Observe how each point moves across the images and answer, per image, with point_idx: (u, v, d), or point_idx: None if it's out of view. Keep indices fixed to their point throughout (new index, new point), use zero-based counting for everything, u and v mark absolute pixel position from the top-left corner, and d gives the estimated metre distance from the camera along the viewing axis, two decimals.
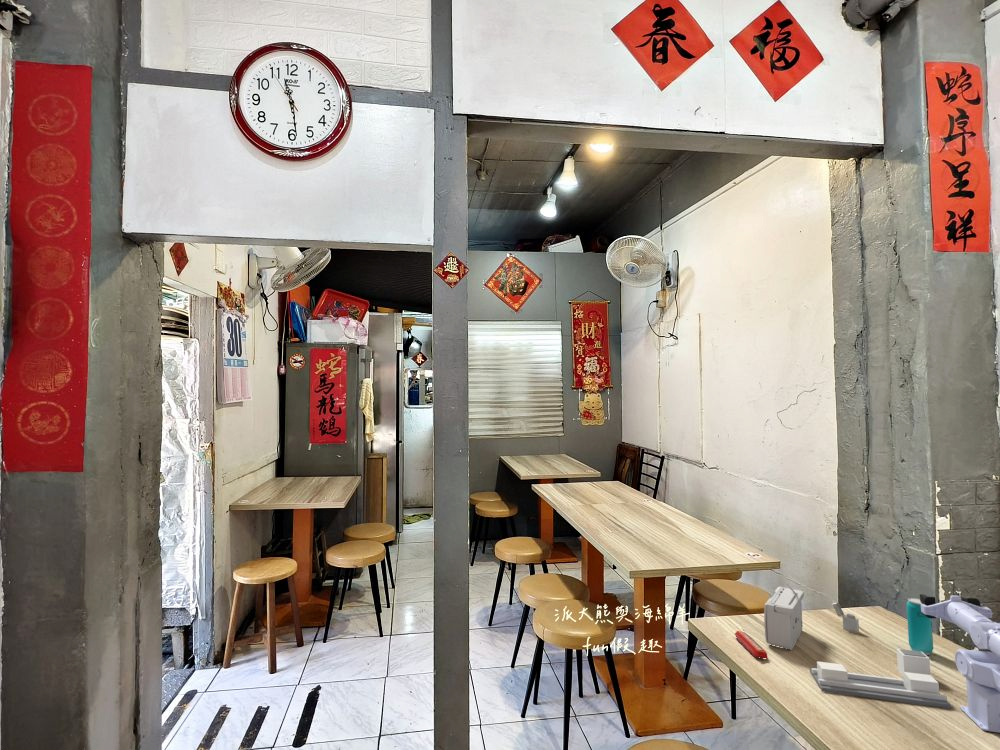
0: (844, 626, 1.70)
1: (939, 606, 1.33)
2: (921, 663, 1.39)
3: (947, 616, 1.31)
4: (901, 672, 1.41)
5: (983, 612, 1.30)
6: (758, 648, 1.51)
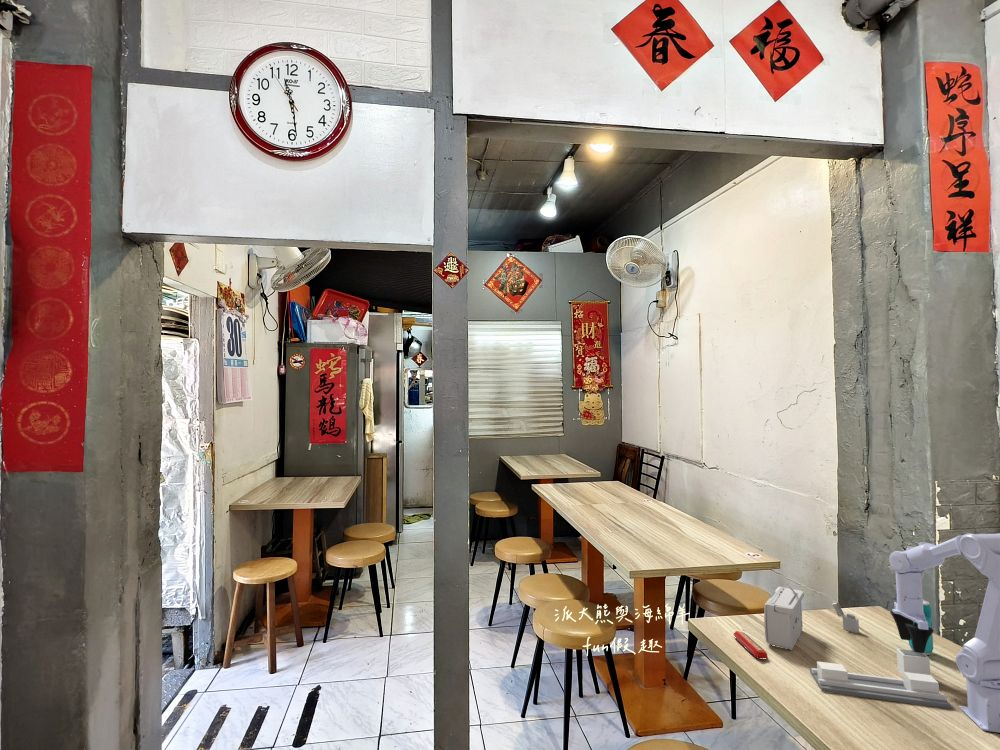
0: (844, 626, 1.70)
1: None
2: (921, 663, 1.39)
3: (918, 612, 1.39)
4: (901, 672, 1.41)
5: None
6: (758, 648, 1.51)
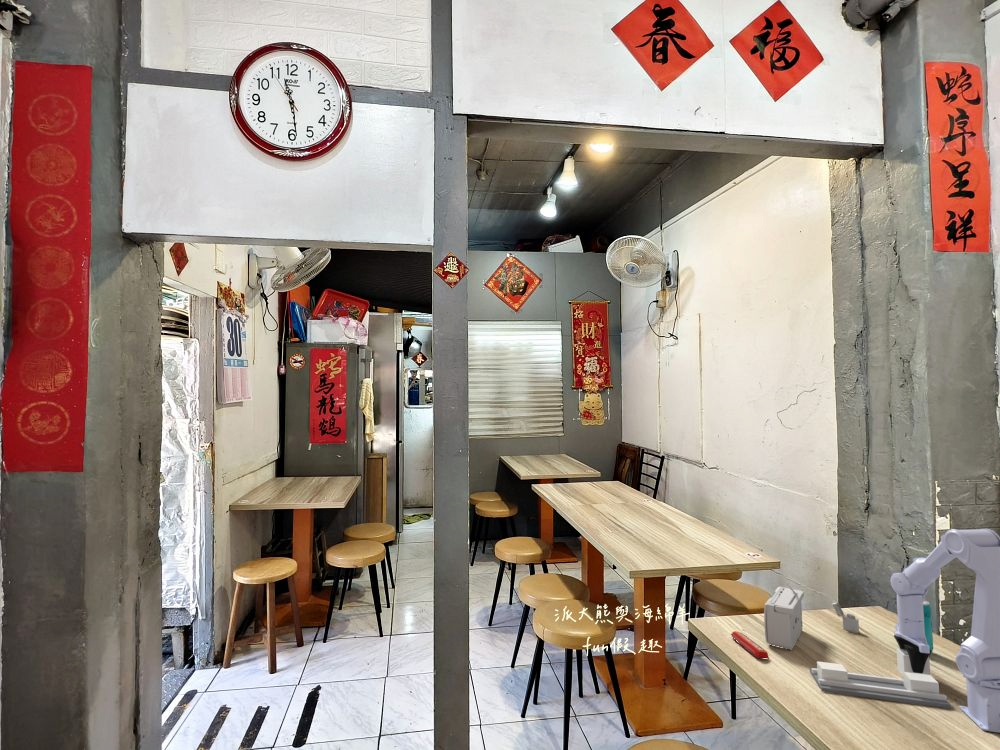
0: (844, 626, 1.70)
1: (913, 641, 1.38)
2: None
3: (920, 635, 1.39)
4: (901, 672, 1.41)
5: None
6: (759, 648, 1.51)
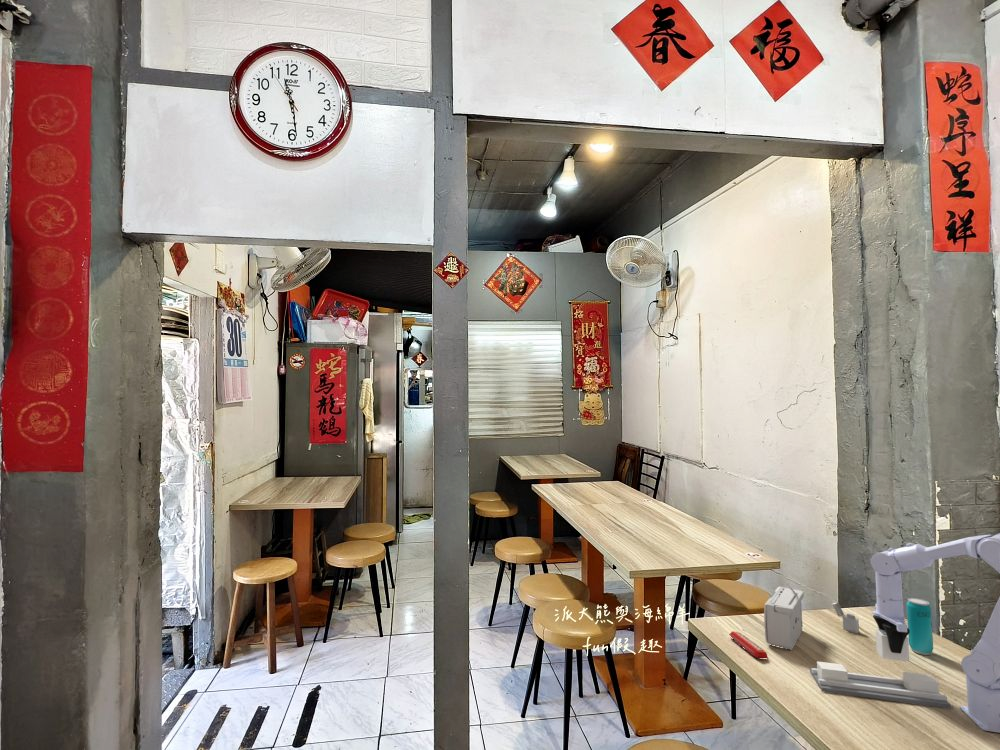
0: (844, 626, 1.70)
1: (891, 620, 1.35)
2: None
3: (898, 614, 1.35)
4: (879, 652, 1.38)
5: None
6: (758, 648, 1.51)
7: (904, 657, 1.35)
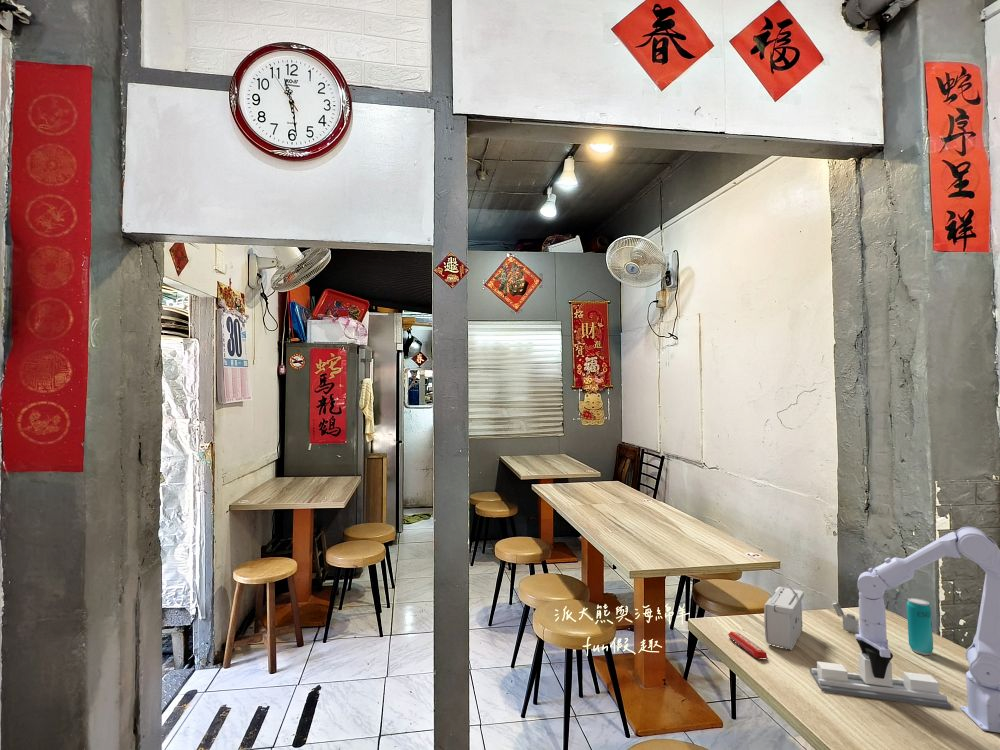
0: (844, 626, 1.70)
1: None
2: None
3: (881, 638, 1.32)
4: (862, 677, 1.34)
5: None
6: (757, 648, 1.51)
7: (887, 682, 1.31)
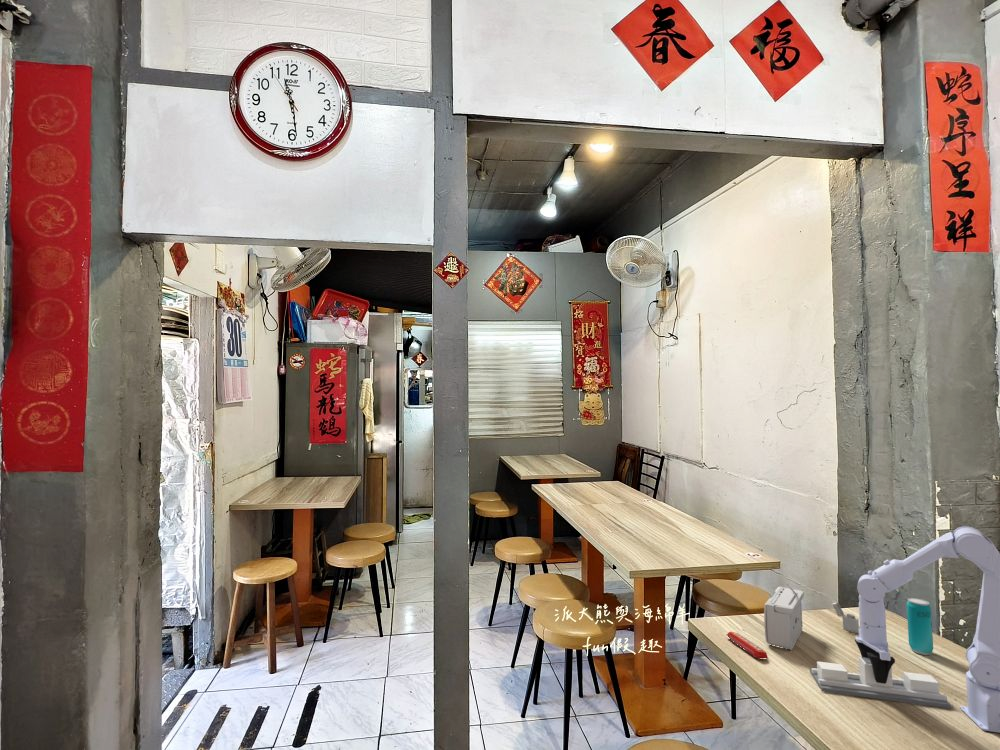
0: (844, 626, 1.70)
1: None
2: None
3: (881, 641, 1.32)
4: (863, 681, 1.34)
5: None
6: (758, 648, 1.51)
7: (887, 687, 1.31)
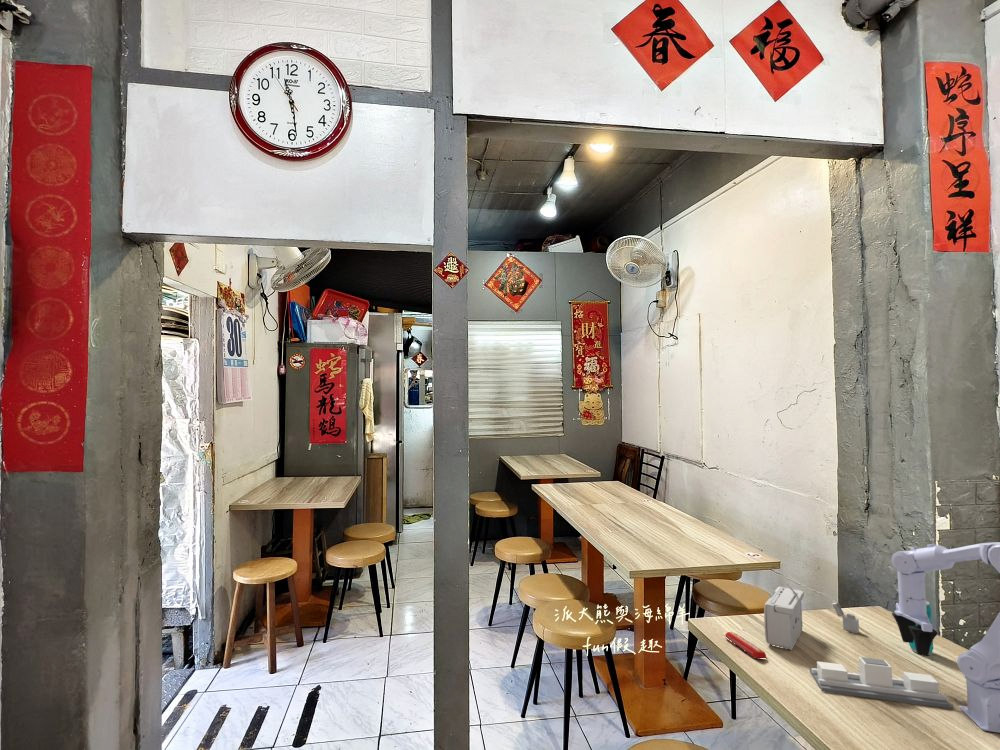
0: (844, 626, 1.70)
1: None
2: (883, 673, 1.32)
3: (922, 614, 1.34)
4: (863, 681, 1.34)
5: None
6: (757, 649, 1.51)
7: (887, 687, 1.31)
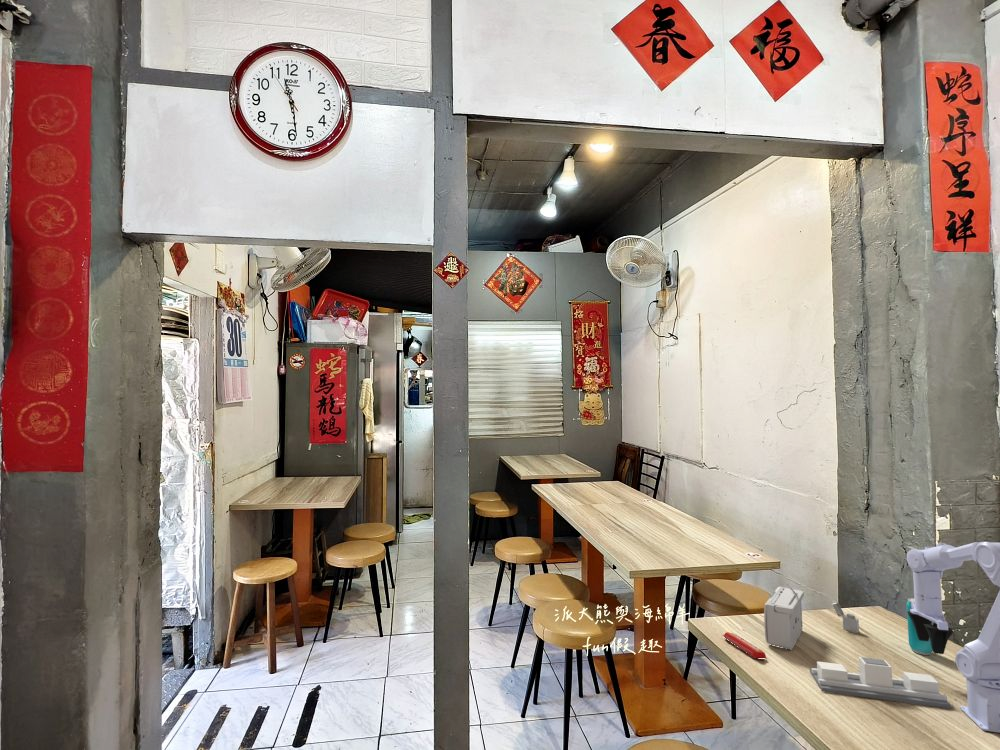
0: (844, 626, 1.70)
1: (931, 618, 1.35)
2: (883, 673, 1.32)
3: (937, 612, 1.35)
4: (863, 681, 1.34)
5: None
6: (756, 649, 1.51)
7: (887, 687, 1.31)
